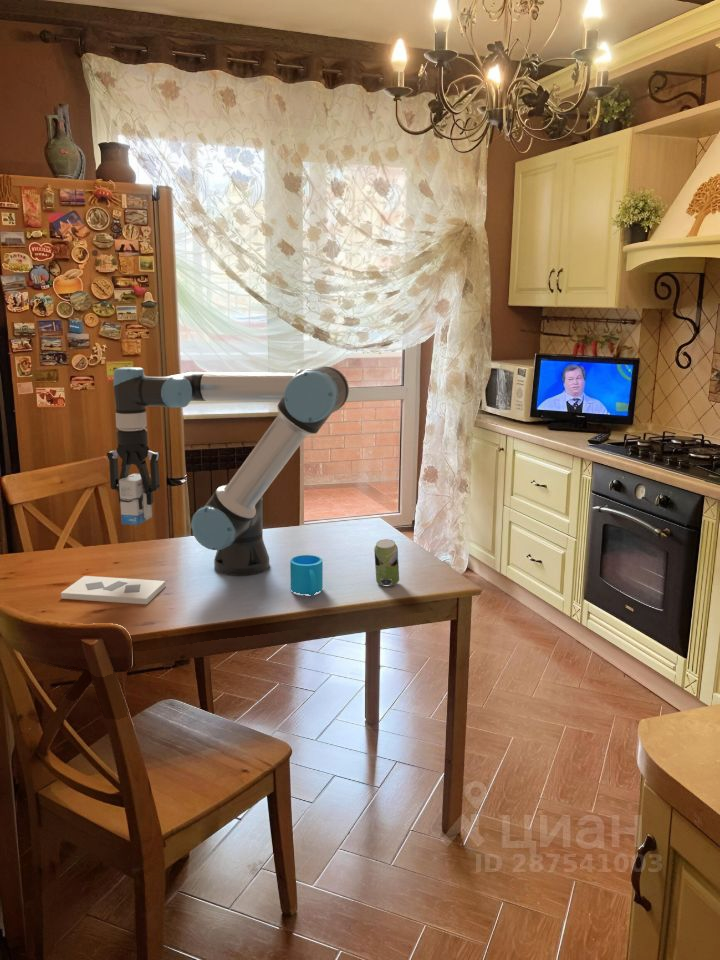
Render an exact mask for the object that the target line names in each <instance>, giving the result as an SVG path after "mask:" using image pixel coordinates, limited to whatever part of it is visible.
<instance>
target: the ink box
mask: <svg viewBox="0 0 720 960" xmlns="http://www.w3.org/2000/svg"><path fill="white" fill-rule="evenodd" d="M149 476H150V477H151V474H149ZM119 479H120V478H119ZM119 489H120V503H119V504H120V516H121V517H120V519H121V525H132V526H139V525H141V524H142V523H144V522H146V521H147V520H149V519H150V518H151V519H152V518H153V508H152V507H153V504H151V505H150V506H151V515H150V516H149V517H147V518H144V507H143V493H144V492H145V488H144V485H143V482H142V479H141V476H140V473H131V474H128V476H127V477H125V478H122V479H120V481H119Z"/></svg>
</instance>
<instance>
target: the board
mask: <svg viewBox="0 0 720 960" xmlns="http://www.w3.org/2000/svg"><path fill="white" fill-rule="evenodd" d="M166 586H167V585H166V580H156V579H155V580H154V579H153V580H152V579H140V578H125V577H108V576H107V577H106V576H95V575H94V576H92V575H84V576H82V577H81V578H80V579H78V580H76V581H75V582H74V583H72V584H71V585H69V587H67V588H66V589H64V590H63V591H62V592H60V598H61V599H62V600H64V599H65V600H74V601H75V600H78V601H90V602H91V601H92V602H106V603H118V604H119V603H122V604H135V605H148V604H149V603H150V602H152V600H153V599H154V598H155V597H156V596H157V595H158V594H160V592H162V591H163V590H164V589H165V588H166Z"/></svg>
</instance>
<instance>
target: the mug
mask: <svg viewBox="0 0 720 960" xmlns="http://www.w3.org/2000/svg"><path fill="white" fill-rule="evenodd" d="M323 561H324V560H323V559H322V558H321V556H318V555H311V554H302V555H296V556H294V557H292V558H290V561H289V563H290V566H289V567H290V571H289V572H290V591H291V590H292V591H293V592H296V593H300V594H309V595H314V594H315V593H316V592H319V591H321V590H322V588H323V583H324V582H323V579H324V578H323V566H324V565H323V563H324V562H323ZM314 596H315V595H314Z"/></svg>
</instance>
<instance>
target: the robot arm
mask: <svg viewBox="0 0 720 960" xmlns="http://www.w3.org/2000/svg"><path fill="white" fill-rule="evenodd" d="M112 387H113V393H114V406H115V407H114V408H115V427H116V428H117V430H116V440H117V448H116V449H115V450H111V451H108V452H107V453H106V457H107V459H108V461H109V478H110V479H109V481H110V488H111V489H112V490H115V491H117V492H118V493H117V494H118V503H119V504H120V489H119V481H120V479H122V478H125V477H127V476H129V475H130V468H131V466H132V465H135V466H136V468H137V469H138V471H139V474H140V476H141V479H142V482H143V485H144V488H145V492H144V493H143V507H144V518H147V517H149V516H150V515H151V506H150V505H151V504H152V505H153V504H154V492H156V491H158V490H159V489H160V487H161V482H160V481H161V479H160V470H159V469H160V468H159V460H160V457H161V454H160V452H158V451H157V452H154V451H152V450H151V449H150V448H149V443H148V442H149V440H148V438H149V437H148V429H147V428H146V427H147V425H148V424H147V423H148V422H147V407H162V408H171V409H176V408H185V407H187V406H189V404H190V402H245V403H246V402H254V403H278V404H277V405H276V407H277V412H278V414H277V416H276V417H275V418H274V420H273V422H272V423H271V424H270V426H269V427H268V428H267V430H266V431H265V432H264V434H263V435H262V437H261V438H260V440H258V442H257V444H256V445H255V446H254V448H253V449H252V451H251V452H250V453H249V455H248V456H247V457H246V459H245V460H244V462H243V463H242V465H241V466H240V467H239V468H238V470H237V471H236V472H235V474H234V475H233V477H232V478H231V479H230V480H229V482H228V483H227V484H225V485H224V484H223V485H221V486H218V488H217V489H215V491H214V493H213V494H212V495H211V497H210V498H209V499H208V501H207V502H206V503H205V505H204V506H201V507H200V508H198V509H197V510H196V512H195V513H194V514H193V516H192V518H191V525H190V526H191V527H190V528H191V529H192V535H193V537H194V539H195V540H196V541H197V543H199V544H200V545H201V546H202V547H204V548H206V549H208V550H212V551H216V552H215V555H214V559H213V562H214V563H213V564H214V567H213V568H214V570H215V571H217V572H218V573H221V574H224V575H228V576H251V575H256V574H259V572H260V573H262V572H264V570H265V571H266V570H268V569H269V568H268V567H270V556H269V553H268V550H267V547H266V544H265V541H264V537H263V524H264V523H263V500H264V499H263V495H264V494H265V492H266V491H267V490H268V488H269V487H270V486H271V484H272V483H273V482H274V481H275V479H276V478H277V476H278V475H279V474H280V473H281V471H282V470H283V469H284V467H285V466H286V464H287V463H288V462H289V460H290V459H291V458H292V456H293V455H294V453H296V451H297V450H298V448H299V447H300V446H301V444H302V443H303V442H304V441H305V439H306V438H307V437H308V436H310V435H312V436H313V435H316V434H318V432H319V431H320V430H321V429H322V427H323V426H324V424H325V423H326V422H327V420H328V419H329V418H330V416H331V415H332V414H334V413H336V412H337V411H338V410H340V409H342V407H343V406H344V405H345V404H346V403H347V400H348V398H349V393H350V388H349V383H348V380H347V378H346V376H345V375H344V374H343V373H342V372H341V371H340V370H338V369H336V368H335V367H331V366H319V367H316V368H315V367H314V368H313V367H312V368H299V369H298V370H296V372H200V371H197V370H196V371H194V370H191V371H189V370H187V371H185V372H183V373H178V374H177V373H176V374H172V375H166V376H149V375H145V370H144V368H142V367H137V366H136V367H135V366H134V367H133V366H127V367H118V368H115V369H114V371H113V385H112ZM118 458H120V459H121V460H122V461H121V465H120V467H121V470H120V474H119V459H118ZM147 458H148V460H149V462H150V463H149V467H150V473H149V470H148V467H147V466H148V465H147V461H146V459H147ZM149 475H150V476H149ZM267 568H268V569H267ZM250 574H251V575H250Z"/></svg>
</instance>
